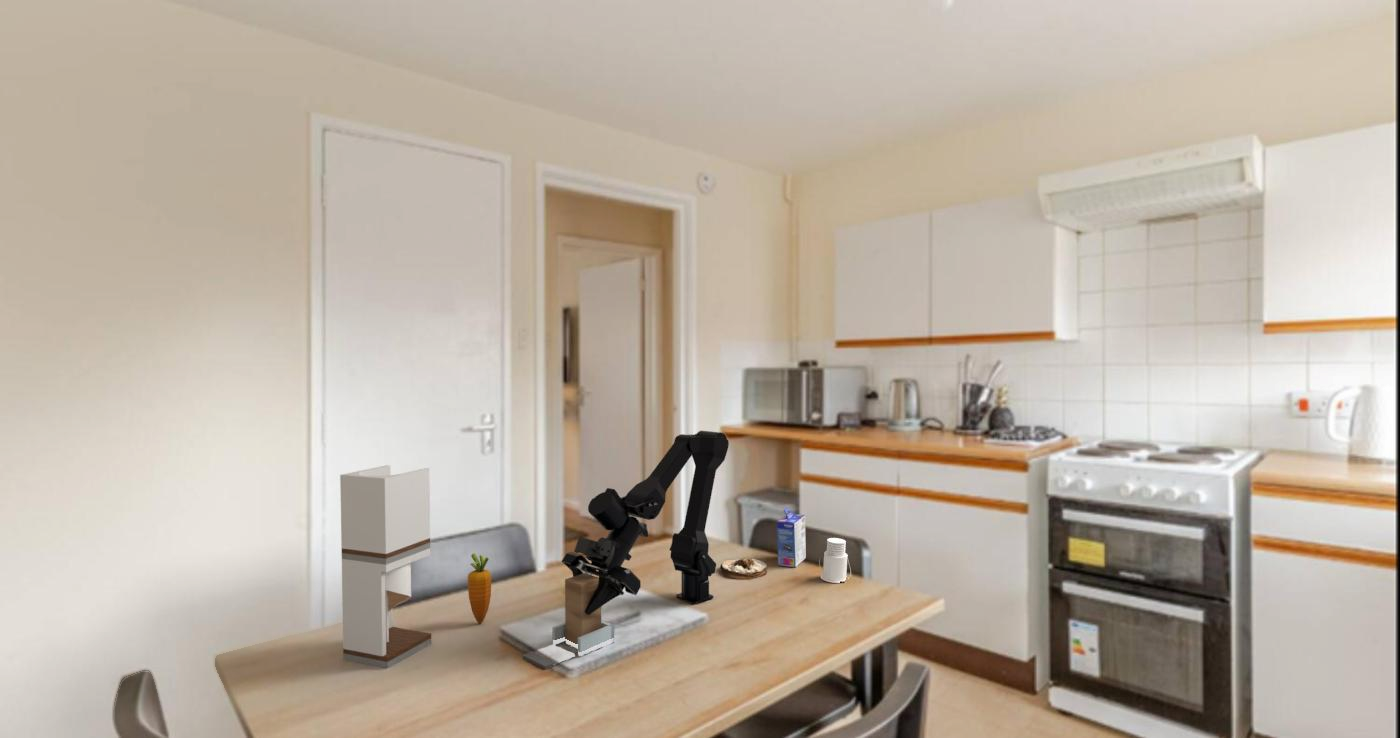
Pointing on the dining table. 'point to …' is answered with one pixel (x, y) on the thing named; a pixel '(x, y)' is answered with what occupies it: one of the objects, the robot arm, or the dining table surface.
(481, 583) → the carrot
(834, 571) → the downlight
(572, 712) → the dining table surface
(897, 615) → the dining table surface
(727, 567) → the cream topped pie
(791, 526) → the ink cartridge box
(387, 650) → the tall white cubby shelf
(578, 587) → the walnut block
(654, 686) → the dining table surface
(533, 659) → the sleeve
